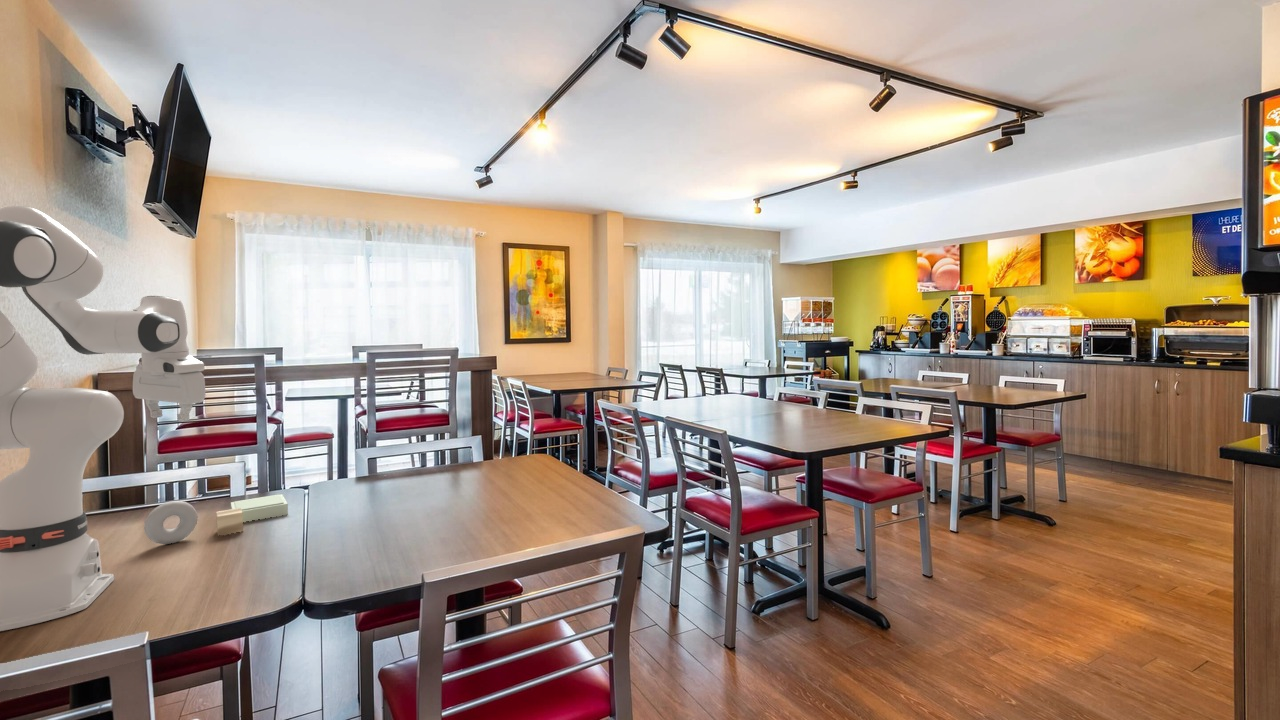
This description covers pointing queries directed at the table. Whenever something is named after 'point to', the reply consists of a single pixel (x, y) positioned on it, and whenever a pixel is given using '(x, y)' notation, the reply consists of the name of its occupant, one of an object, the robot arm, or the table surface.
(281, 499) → the pedestal
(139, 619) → the table surface
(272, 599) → the table surface
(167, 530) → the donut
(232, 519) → the maple cube
